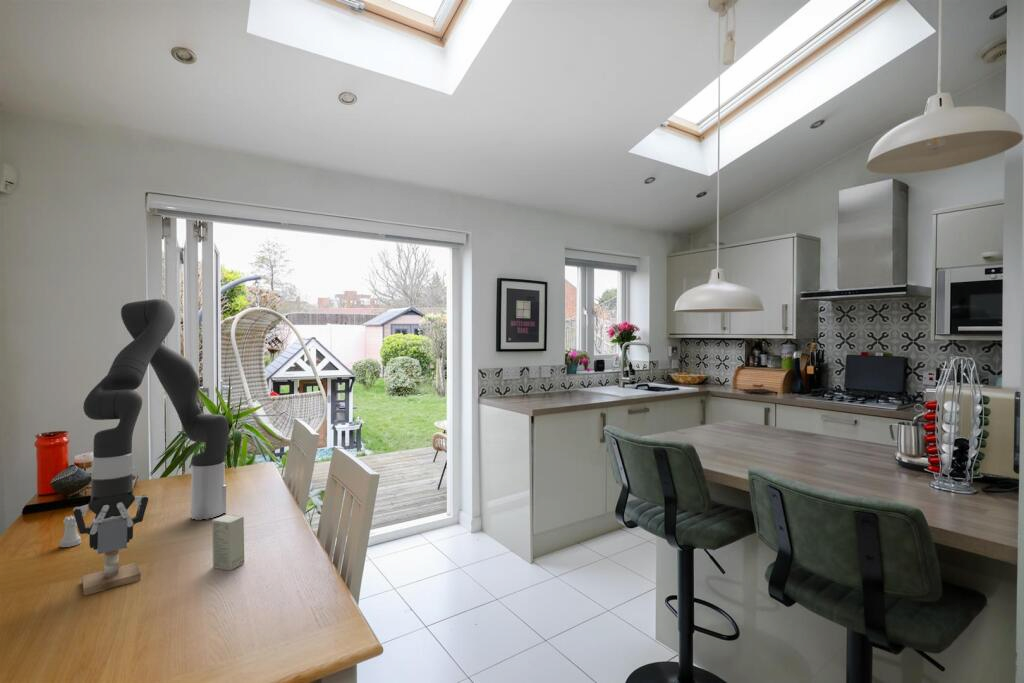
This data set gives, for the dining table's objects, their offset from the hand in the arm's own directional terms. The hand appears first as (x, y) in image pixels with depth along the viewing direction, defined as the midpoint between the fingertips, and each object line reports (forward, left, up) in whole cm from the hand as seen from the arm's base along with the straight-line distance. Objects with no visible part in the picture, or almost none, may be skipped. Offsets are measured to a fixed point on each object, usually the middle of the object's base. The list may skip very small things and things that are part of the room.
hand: (111, 544), depth 112 cm
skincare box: (-22, +10, -9) cm, 26 cm away
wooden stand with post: (0, 0, -9) cm, 9 cm away
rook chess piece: (+6, -34, -9) cm, 36 cm away
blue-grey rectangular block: (0, 0, -1) cm, 1 cm away
